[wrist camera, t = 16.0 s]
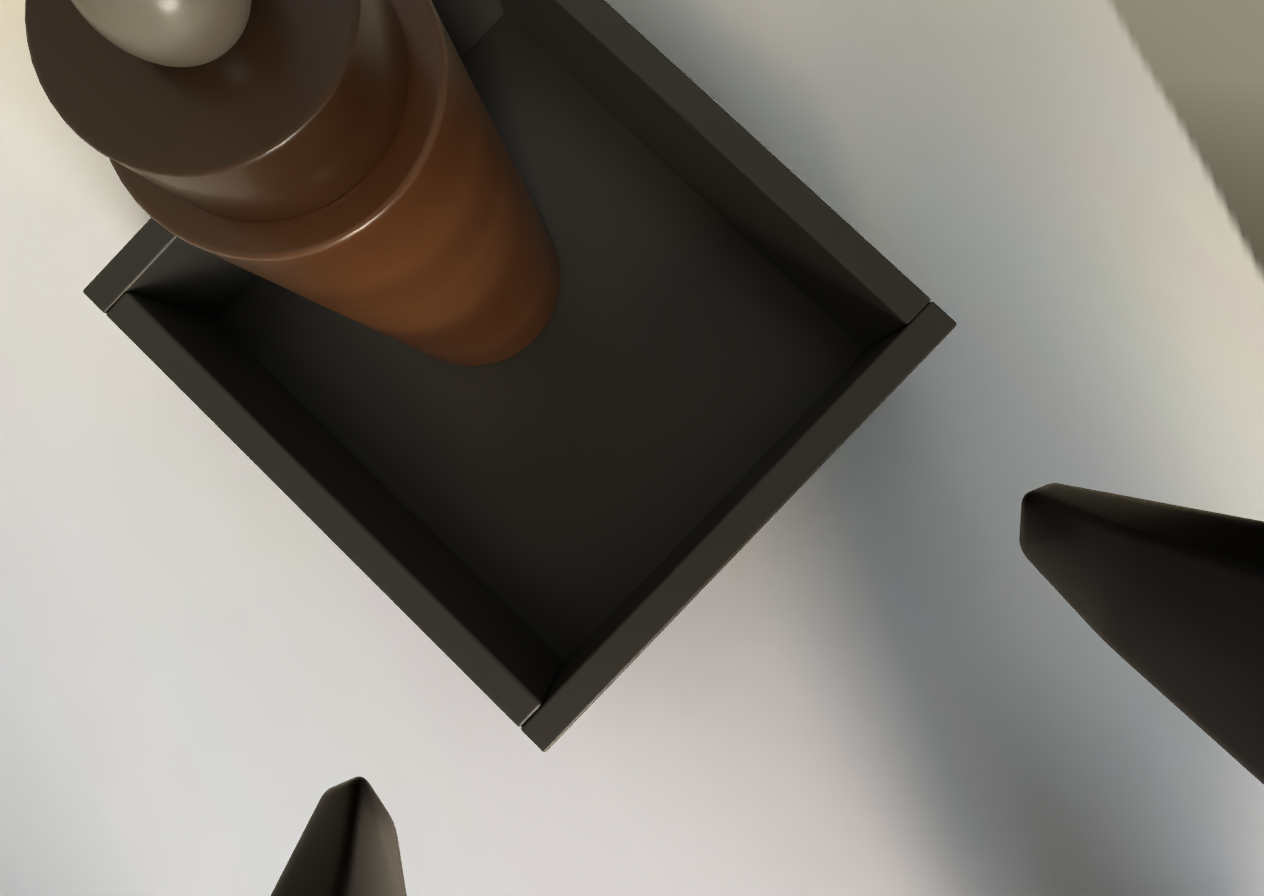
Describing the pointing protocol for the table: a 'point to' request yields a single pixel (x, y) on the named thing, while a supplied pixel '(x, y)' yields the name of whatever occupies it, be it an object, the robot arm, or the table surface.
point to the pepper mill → (314, 156)
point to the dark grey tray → (560, 369)
